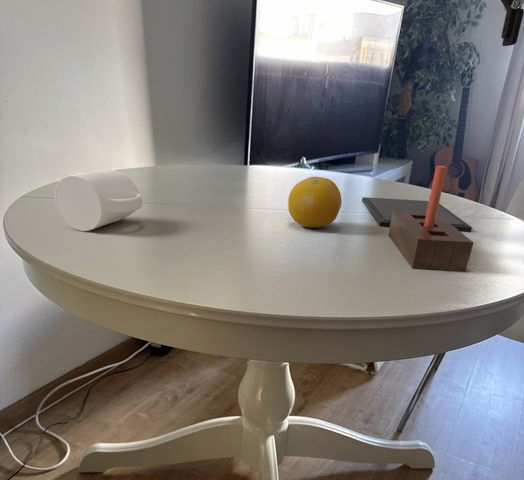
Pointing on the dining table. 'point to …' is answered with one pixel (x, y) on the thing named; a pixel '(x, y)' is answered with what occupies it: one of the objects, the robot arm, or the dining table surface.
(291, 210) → the fruit
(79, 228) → the mug
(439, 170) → the stylus
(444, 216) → the tablet
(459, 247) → the pen stand
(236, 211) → the dining table surface
